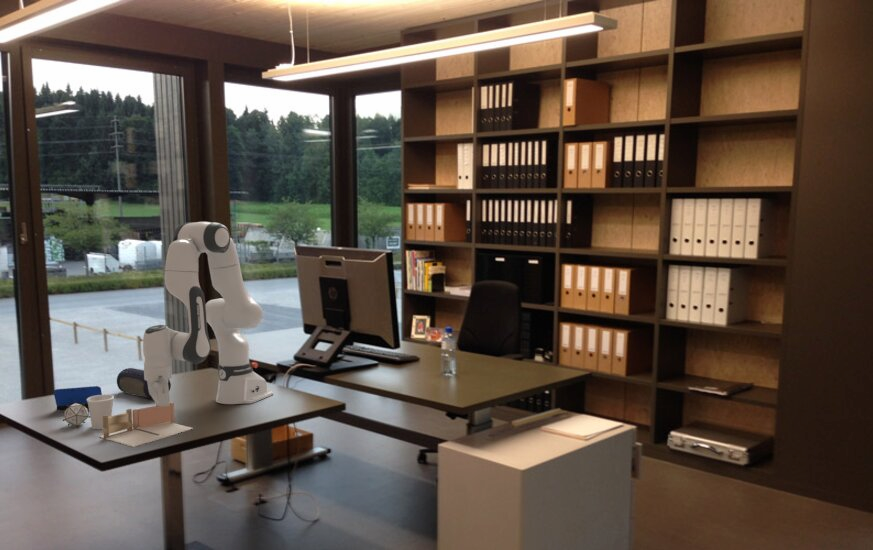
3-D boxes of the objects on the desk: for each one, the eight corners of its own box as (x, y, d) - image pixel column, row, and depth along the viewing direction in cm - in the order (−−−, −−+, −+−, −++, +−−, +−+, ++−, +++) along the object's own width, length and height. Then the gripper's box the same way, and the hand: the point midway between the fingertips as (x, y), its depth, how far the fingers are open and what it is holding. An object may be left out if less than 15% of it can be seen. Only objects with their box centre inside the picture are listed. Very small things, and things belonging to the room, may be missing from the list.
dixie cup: (105, 431, 237) (103, 401, 236) (82, 429, 238) (80, 400, 237) (120, 423, 245) (119, 395, 244) (98, 422, 246) (97, 393, 245)
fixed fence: (130, 430, 237) (129, 408, 236) (133, 430, 236) (132, 409, 236) (102, 438, 229) (101, 416, 228) (105, 438, 228) (104, 416, 227)
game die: (74, 435, 244) (72, 408, 249) (97, 427, 244) (95, 399, 248) (56, 429, 236) (55, 401, 241) (79, 420, 236) (78, 393, 240)
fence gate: (133, 429, 237) (133, 410, 236) (132, 428, 238) (131, 409, 237) (175, 421, 245) (174, 403, 245) (173, 420, 246) (173, 402, 246)
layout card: (158, 420, 249) (158, 419, 249) (192, 429, 239) (192, 427, 239) (99, 437, 230) (99, 435, 230) (133, 447, 220) (133, 445, 220)
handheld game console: (107, 401, 274) (106, 377, 273) (101, 410, 262) (100, 386, 261) (61, 404, 270) (60, 380, 269) (54, 414, 257) (52, 389, 256)
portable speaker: (112, 394, 285) (111, 369, 284) (134, 388, 293) (133, 364, 293) (151, 403, 272) (150, 377, 271) (174, 397, 280) (173, 372, 279)
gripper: (173, 378, 236) (175, 419, 237) (162, 366, 254) (164, 404, 255) (153, 381, 233) (154, 422, 234) (143, 368, 251) (145, 407, 252)
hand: (159, 413), depth 245 cm, fingers closed
